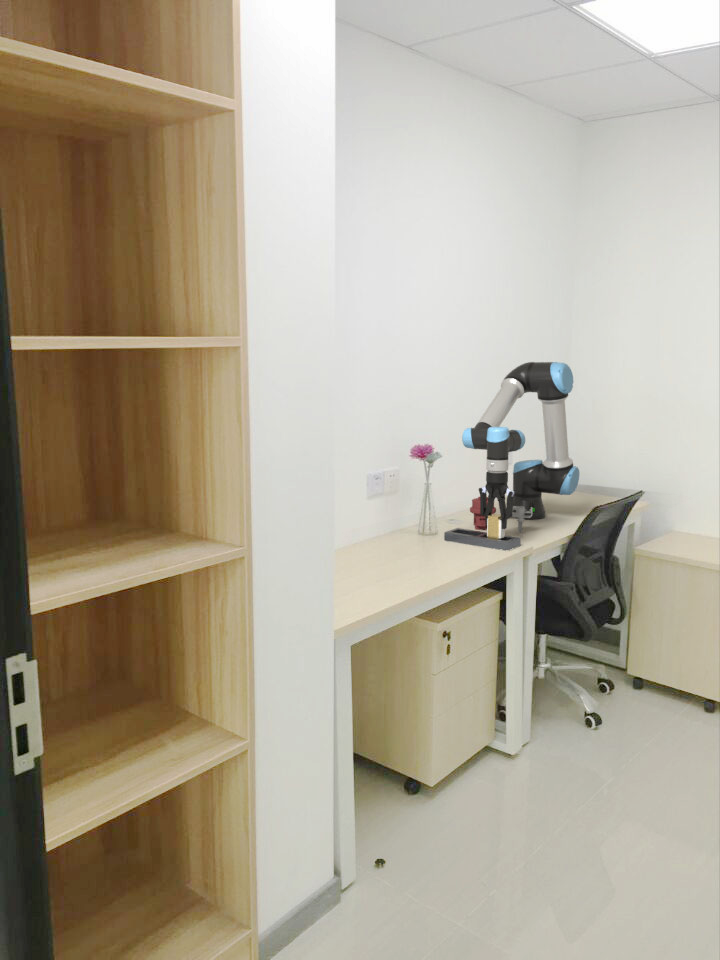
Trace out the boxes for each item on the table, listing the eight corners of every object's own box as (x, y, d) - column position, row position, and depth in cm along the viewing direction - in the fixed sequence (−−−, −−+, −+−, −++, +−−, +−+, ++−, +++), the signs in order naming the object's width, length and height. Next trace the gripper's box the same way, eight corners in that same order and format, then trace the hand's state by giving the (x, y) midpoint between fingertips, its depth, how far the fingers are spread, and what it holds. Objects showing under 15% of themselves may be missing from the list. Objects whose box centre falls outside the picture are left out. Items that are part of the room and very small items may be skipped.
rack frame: (457, 535, 311) (457, 527, 311) (520, 545, 295) (520, 537, 295) (444, 540, 304) (444, 532, 304) (507, 550, 288) (508, 542, 288)
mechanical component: (533, 534, 313) (534, 508, 312) (506, 533, 315) (506, 507, 314) (533, 532, 316) (534, 506, 314) (506, 531, 318) (507, 505, 316)
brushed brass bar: (493, 536, 298) (493, 513, 297) (503, 537, 296) (503, 515, 295) (487, 537, 295) (488, 515, 294) (497, 539, 293) (498, 517, 292)
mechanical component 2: (500, 530, 321) (477, 532, 317) (487, 525, 330) (465, 527, 326) (501, 498, 319) (478, 500, 315) (488, 494, 328) (465, 496, 324)
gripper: (470, 470, 294) (469, 535, 298) (513, 474, 284) (512, 542, 288) (481, 467, 300) (480, 531, 304) (524, 472, 290) (522, 538, 293)
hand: (495, 536), depth 296 cm, fingers closed on brushed brass bar, 4 cm apart
